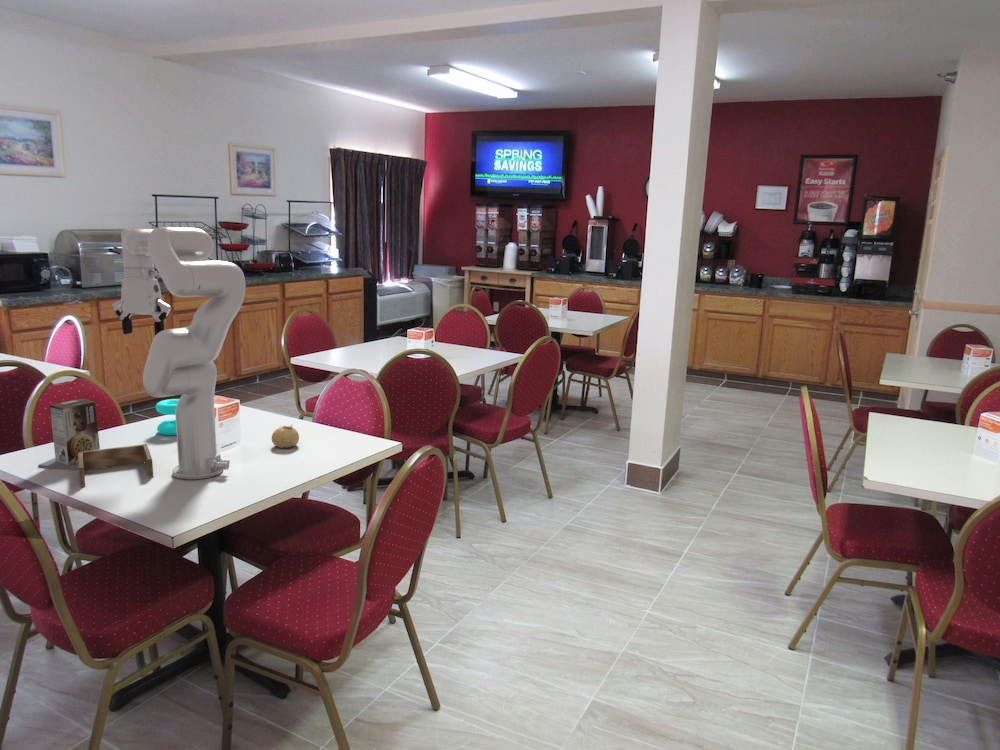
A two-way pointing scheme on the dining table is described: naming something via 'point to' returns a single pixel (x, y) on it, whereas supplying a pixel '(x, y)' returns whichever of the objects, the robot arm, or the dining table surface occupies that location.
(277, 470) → the dining table surface
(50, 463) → the charcoal mat
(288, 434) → the onion
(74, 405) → the coffee box
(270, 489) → the dining table surface
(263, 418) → the dining table surface
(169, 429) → the donuts
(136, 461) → the walnut cubby
